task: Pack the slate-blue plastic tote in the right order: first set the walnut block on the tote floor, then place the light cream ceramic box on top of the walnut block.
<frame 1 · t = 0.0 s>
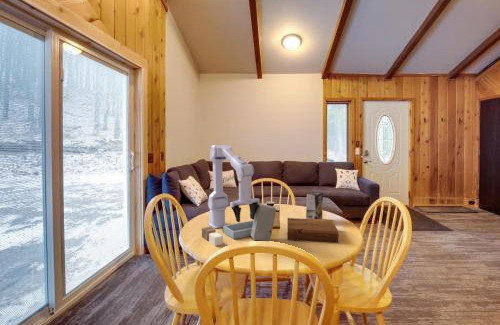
hand: (245, 220, 127), 10 cm above the table, tool pointing down, fingers open, 7 cm apart
skincare box: (260, 239, 130), on the table, touching gripper
tote: (244, 232, 140), on the table
brown flat block: (310, 235, 137), on the table
walnut block: (208, 237, 133), on the table
coffee box: (314, 221, 159), on the table
cream box: (215, 243, 126), on the table
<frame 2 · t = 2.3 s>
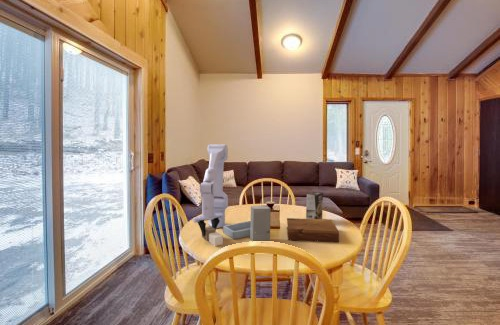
hand: (208, 234, 133), 1 cm above the table, tool pointing down, fingers closed on walnut block, 4 cm apart
skincare box: (260, 240, 130), on the table
walnut block: (208, 237, 133), on the table, touching gripper
everything else where it was.
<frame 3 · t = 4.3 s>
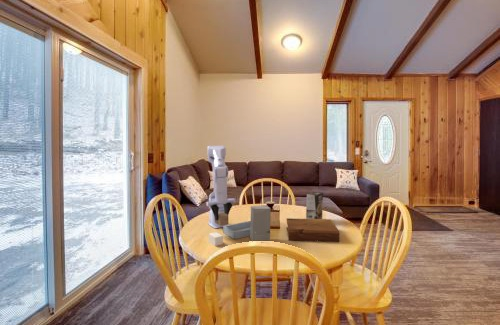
hand: (221, 219, 134), 8 cm above the table, tool pointing down, fingers closed on walnut block, 4 cm apart
walnut block: (221, 223, 135), point 6 cm above the table, touching gripper
everything else where it was.
when the fingers open (3 cm above the table, at t = 6.6 s): walnut block stays where it is, resting on tote.
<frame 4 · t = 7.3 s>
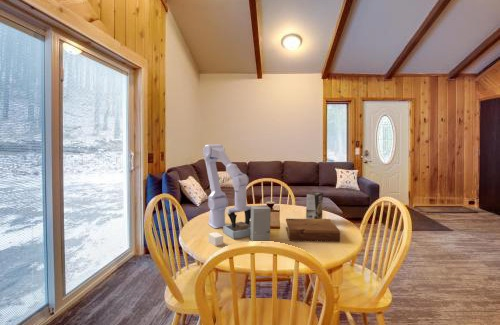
hand: (240, 225, 139), 4 cm above the table, tool pointing down, fingers open, 7 cm apart
walnut block: (240, 232, 139), resting on tote
everything else where it was.
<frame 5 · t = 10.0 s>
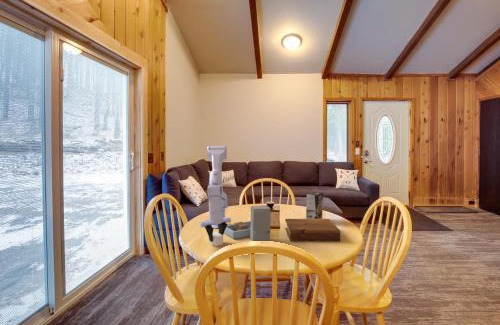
hand: (215, 239, 126), 1 cm above the table, tool pointing down, fingers closed on cream box, 4 cm apart
cream box: (215, 243, 126), on the table, touching gripper
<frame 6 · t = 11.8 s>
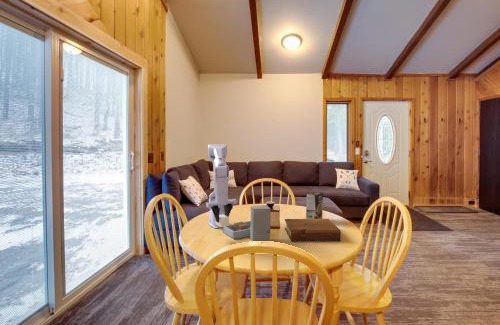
hand: (221, 220, 128), 9 cm above the table, tool pointing down, fingers closed on cream box, 4 cm apart
cream box: (222, 224, 128), point 8 cm above the table, touching gripper
when the fingers open (7 cm above the table, at t = 13.6 s): cream box stays where it is, resting on walnut block.
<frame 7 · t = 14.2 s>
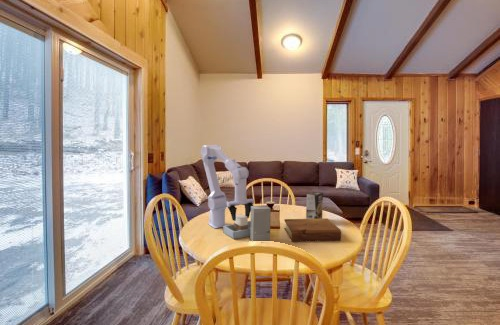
hand: (240, 218, 138), 7 cm above the table, tool pointing down, fingers open, 7 cm apart
walnut block: (240, 232, 139), resting on tote, touching cream box
cream box: (240, 223, 138), point 5 cm above the table, touching walnut block
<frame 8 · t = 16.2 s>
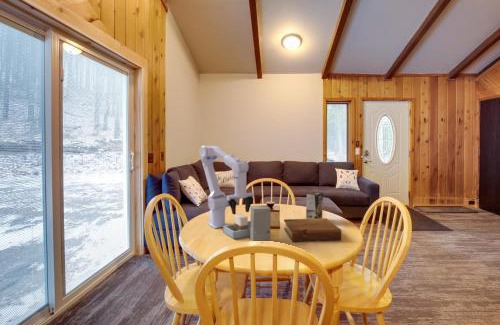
hand: (240, 212, 138), 10 cm above the table, tool pointing down, fingers open, 7 cm apart
at the end: walnut block inside the target area on the tote (2.0 cm from its centre), point 0.4 cm above the tote's base; cream box 0.1 cm off-centre on the walnut block, point 4.5 cm above the walnut block's base; cream box tilted 0° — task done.
